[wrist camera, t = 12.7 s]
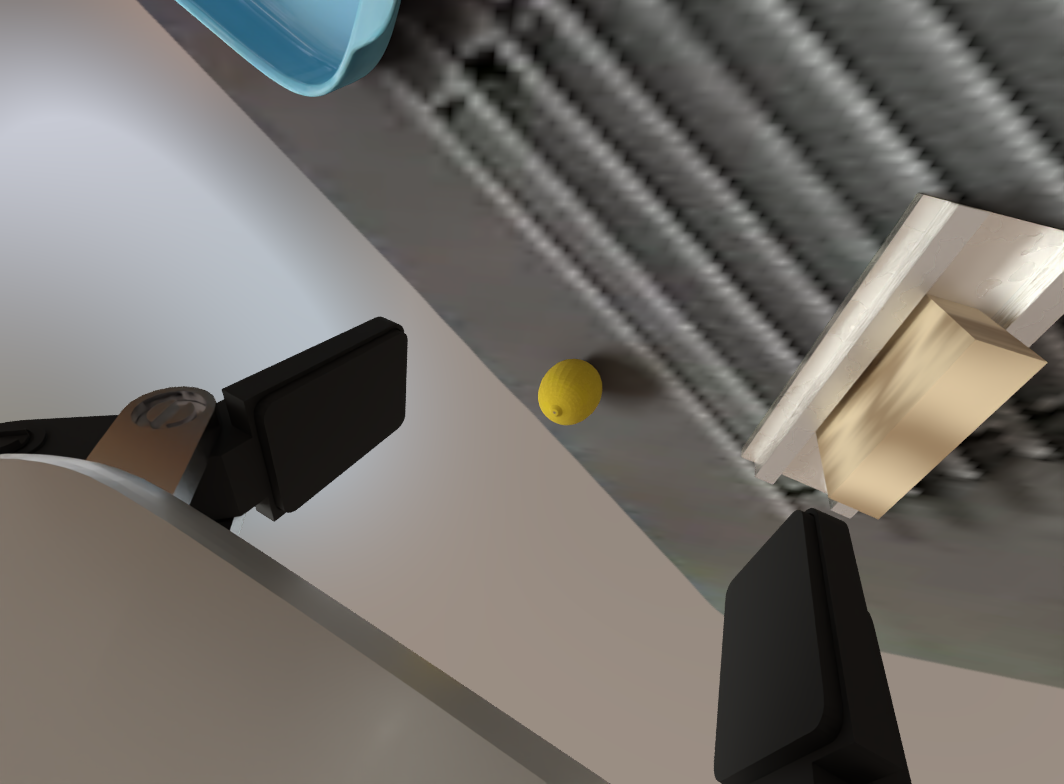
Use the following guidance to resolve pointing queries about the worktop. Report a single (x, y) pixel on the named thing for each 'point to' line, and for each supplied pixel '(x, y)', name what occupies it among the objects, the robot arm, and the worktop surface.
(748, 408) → the worktop surface
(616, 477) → the worktop surface
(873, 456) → the tan wooden block
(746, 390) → the worktop surface
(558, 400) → the lemon
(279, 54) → the casserole dish
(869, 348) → the bottom track
